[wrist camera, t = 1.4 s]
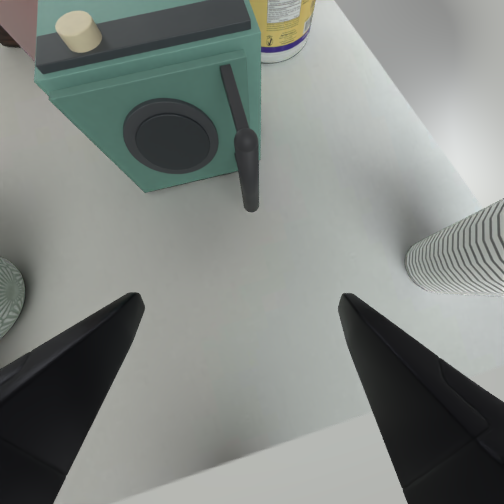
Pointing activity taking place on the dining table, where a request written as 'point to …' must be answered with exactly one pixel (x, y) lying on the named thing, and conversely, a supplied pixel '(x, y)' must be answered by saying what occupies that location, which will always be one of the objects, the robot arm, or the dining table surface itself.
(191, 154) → the washer door
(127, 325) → the robot arm
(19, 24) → the greeting card
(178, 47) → the washer
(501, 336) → the dining table surface
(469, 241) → the cup
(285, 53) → the supplement tub
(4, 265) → the planter
